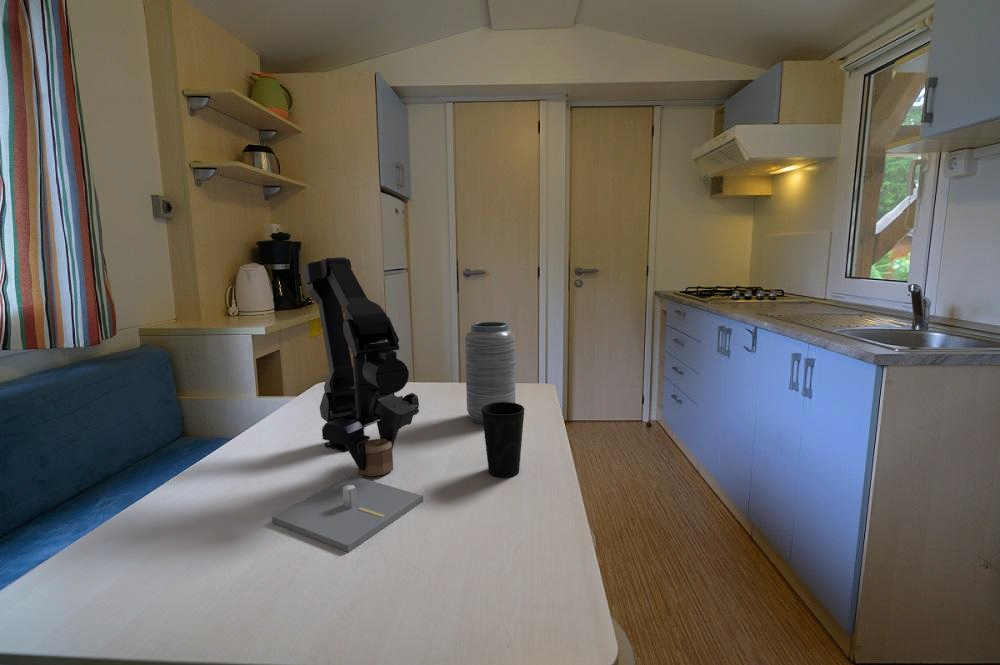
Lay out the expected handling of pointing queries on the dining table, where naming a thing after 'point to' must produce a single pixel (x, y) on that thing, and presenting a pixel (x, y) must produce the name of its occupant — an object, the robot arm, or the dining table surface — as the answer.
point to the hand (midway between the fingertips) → (375, 463)
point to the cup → (503, 437)
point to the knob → (378, 457)
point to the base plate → (348, 512)
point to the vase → (489, 366)
